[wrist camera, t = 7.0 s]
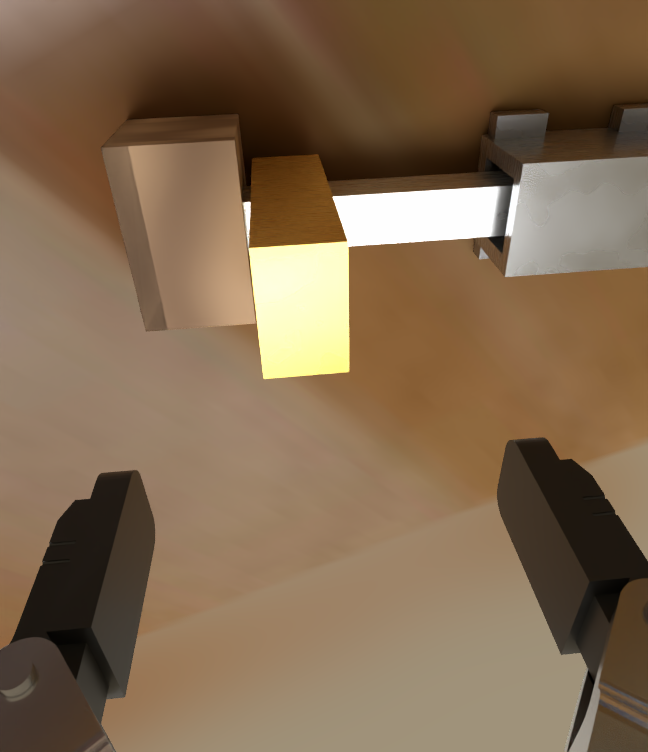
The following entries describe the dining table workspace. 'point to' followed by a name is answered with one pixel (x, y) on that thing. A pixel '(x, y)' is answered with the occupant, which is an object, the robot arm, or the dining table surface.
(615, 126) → the sleeve
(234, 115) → the socket block
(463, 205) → the slide bar
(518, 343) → the dining table surface
